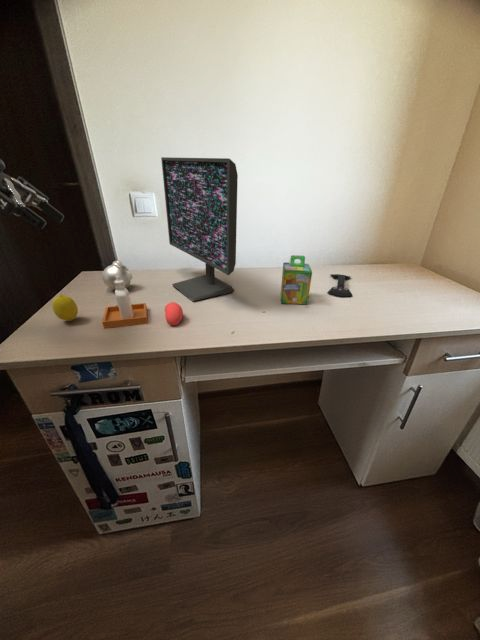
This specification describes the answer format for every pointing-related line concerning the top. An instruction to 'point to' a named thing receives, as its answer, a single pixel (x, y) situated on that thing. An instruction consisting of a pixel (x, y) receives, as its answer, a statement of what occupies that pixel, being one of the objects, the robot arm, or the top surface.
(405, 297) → the top surface
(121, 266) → the silver rounded lump
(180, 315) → the red kidney bean shape
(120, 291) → the eye dropper bottle
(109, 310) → the amber tray
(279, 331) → the top surface
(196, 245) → the computer monitor
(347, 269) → the top surface
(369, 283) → the top surface
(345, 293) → the dark flared piece
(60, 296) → the lemon
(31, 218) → the robot arm
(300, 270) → the chalk box
